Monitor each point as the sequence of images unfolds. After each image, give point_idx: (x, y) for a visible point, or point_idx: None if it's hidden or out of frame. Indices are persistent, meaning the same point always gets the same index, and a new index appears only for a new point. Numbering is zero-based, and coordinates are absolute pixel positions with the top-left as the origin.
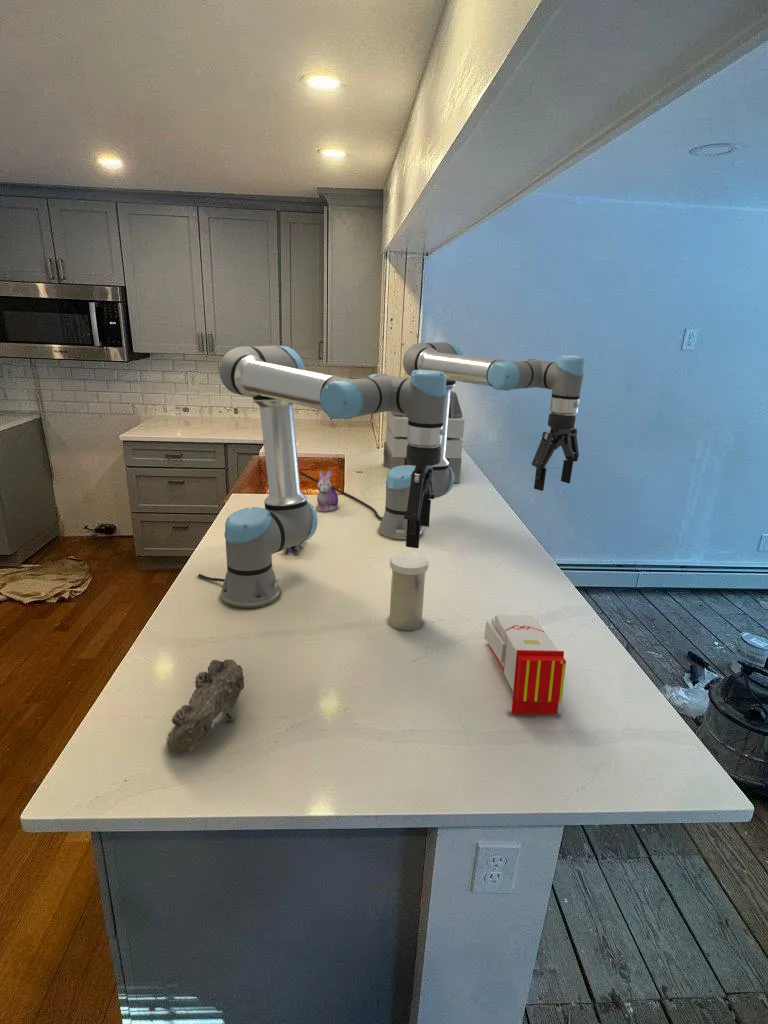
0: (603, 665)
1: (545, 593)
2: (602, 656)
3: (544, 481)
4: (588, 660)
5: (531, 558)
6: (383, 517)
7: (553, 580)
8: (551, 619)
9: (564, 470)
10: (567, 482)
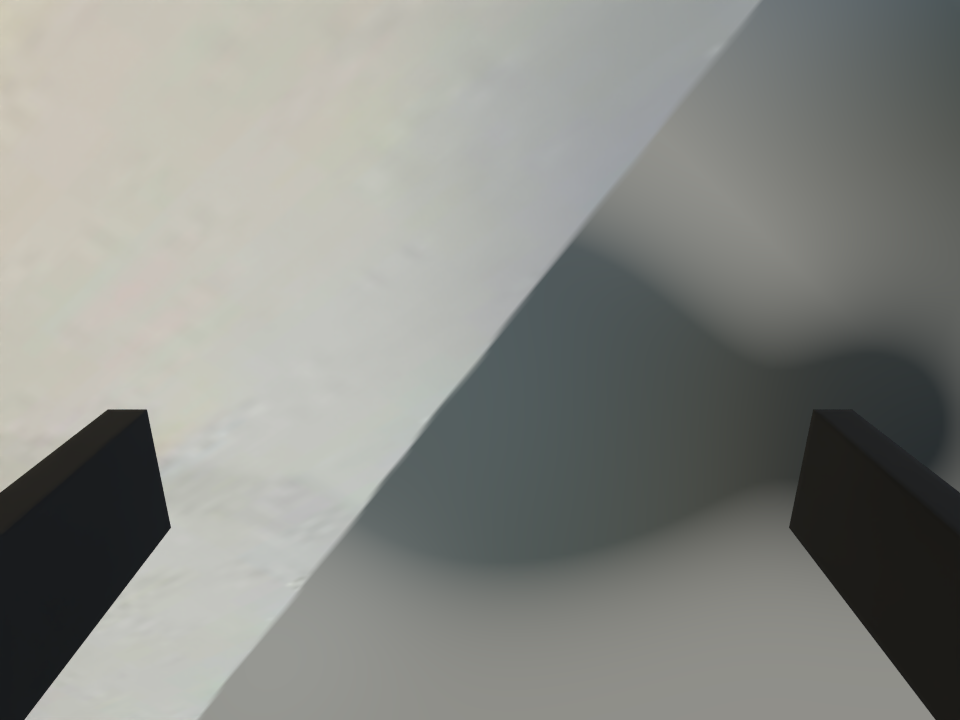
0: (122, 698)
1: (325, 375)
2: (156, 679)
3: (92, 623)
4: (101, 668)
5: (601, 98)
6: None
7: (463, 326)
8: (181, 498)
9: (923, 556)
10: (797, 516)
